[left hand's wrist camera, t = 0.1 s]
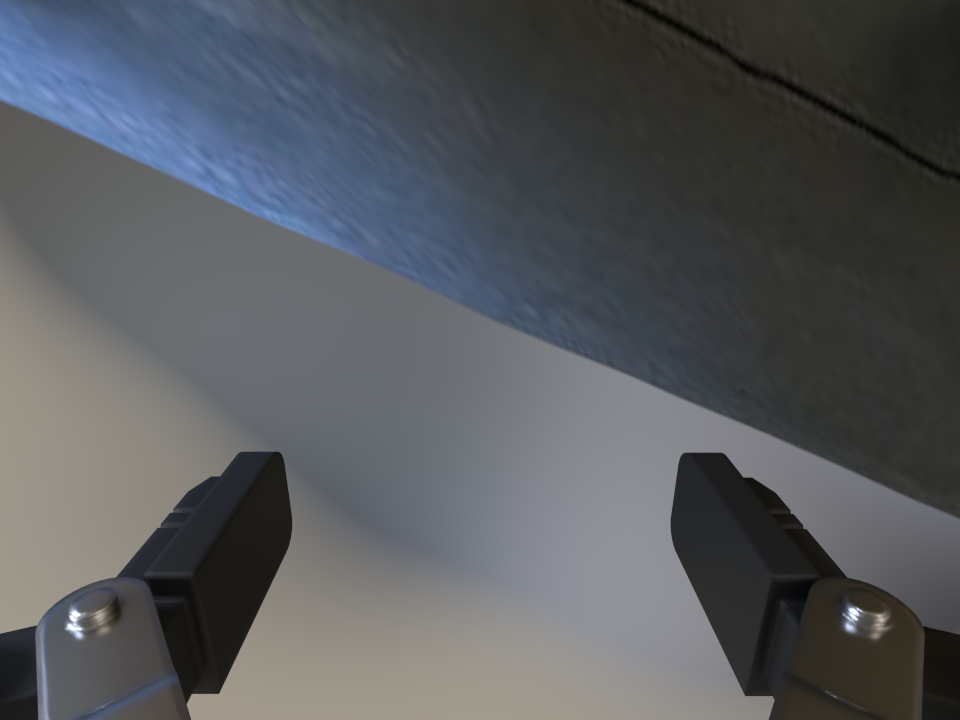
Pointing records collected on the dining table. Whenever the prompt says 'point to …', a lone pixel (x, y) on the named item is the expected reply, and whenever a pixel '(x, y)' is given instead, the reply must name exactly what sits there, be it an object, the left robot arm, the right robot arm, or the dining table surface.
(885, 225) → the dining table surface
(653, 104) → the dining table surface
